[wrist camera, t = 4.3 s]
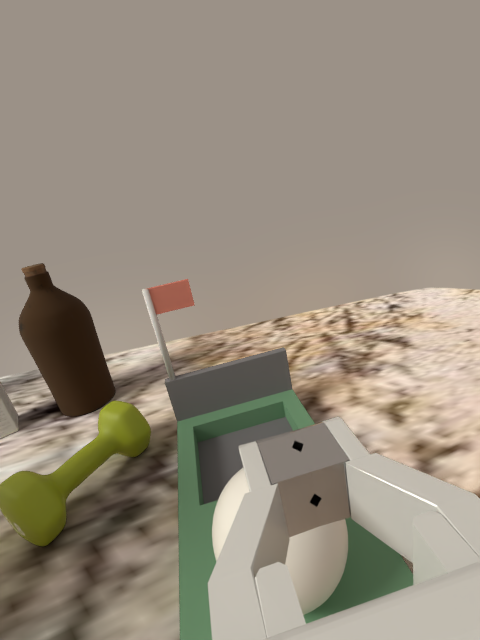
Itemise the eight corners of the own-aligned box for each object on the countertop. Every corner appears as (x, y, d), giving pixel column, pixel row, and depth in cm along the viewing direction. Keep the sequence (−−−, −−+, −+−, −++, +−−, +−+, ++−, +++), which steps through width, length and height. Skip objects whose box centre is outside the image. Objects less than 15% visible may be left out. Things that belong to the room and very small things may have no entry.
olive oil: (101, 416, 54) (40, 267, 46) (44, 422, 56) (-26, 280, 47) (128, 381, 64) (81, 253, 55) (79, 387, 66) (26, 264, 57)
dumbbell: (124, 434, 49) (108, 393, 46) (164, 446, 44) (148, 401, 42) (9, 534, 36) (-22, 485, 34) (48, 565, 32) (16, 511, 29)
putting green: (477, 707, 18) (511, 388, 11) (197, 825, 17) (21, 537, 9) (292, 403, 47) (268, 259, 40) (182, 435, 46) (136, 290, 38)
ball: (295, 697, 18) (268, 592, 15) (203, 576, 25) (171, 487, 22) (379, 568, 23) (371, 469, 20) (283, 497, 30) (267, 415, 27)
